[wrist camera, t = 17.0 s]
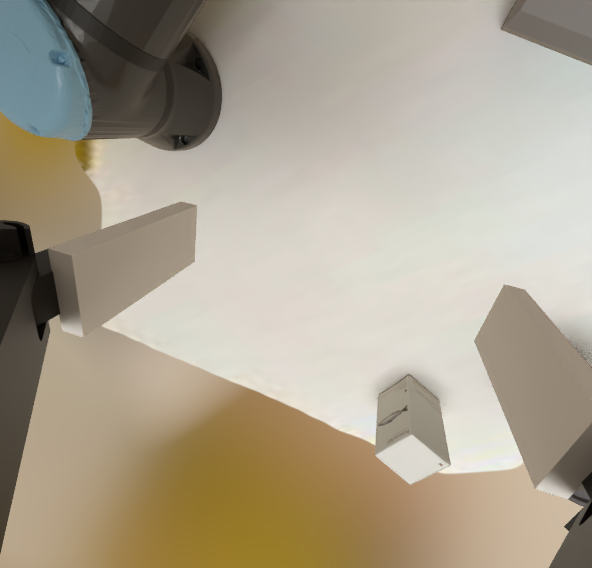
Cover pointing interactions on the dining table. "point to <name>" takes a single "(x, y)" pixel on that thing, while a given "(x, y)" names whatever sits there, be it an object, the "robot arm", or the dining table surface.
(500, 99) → the dining table surface
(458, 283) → the dining table surface
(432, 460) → the supplement box
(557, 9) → the socket block
